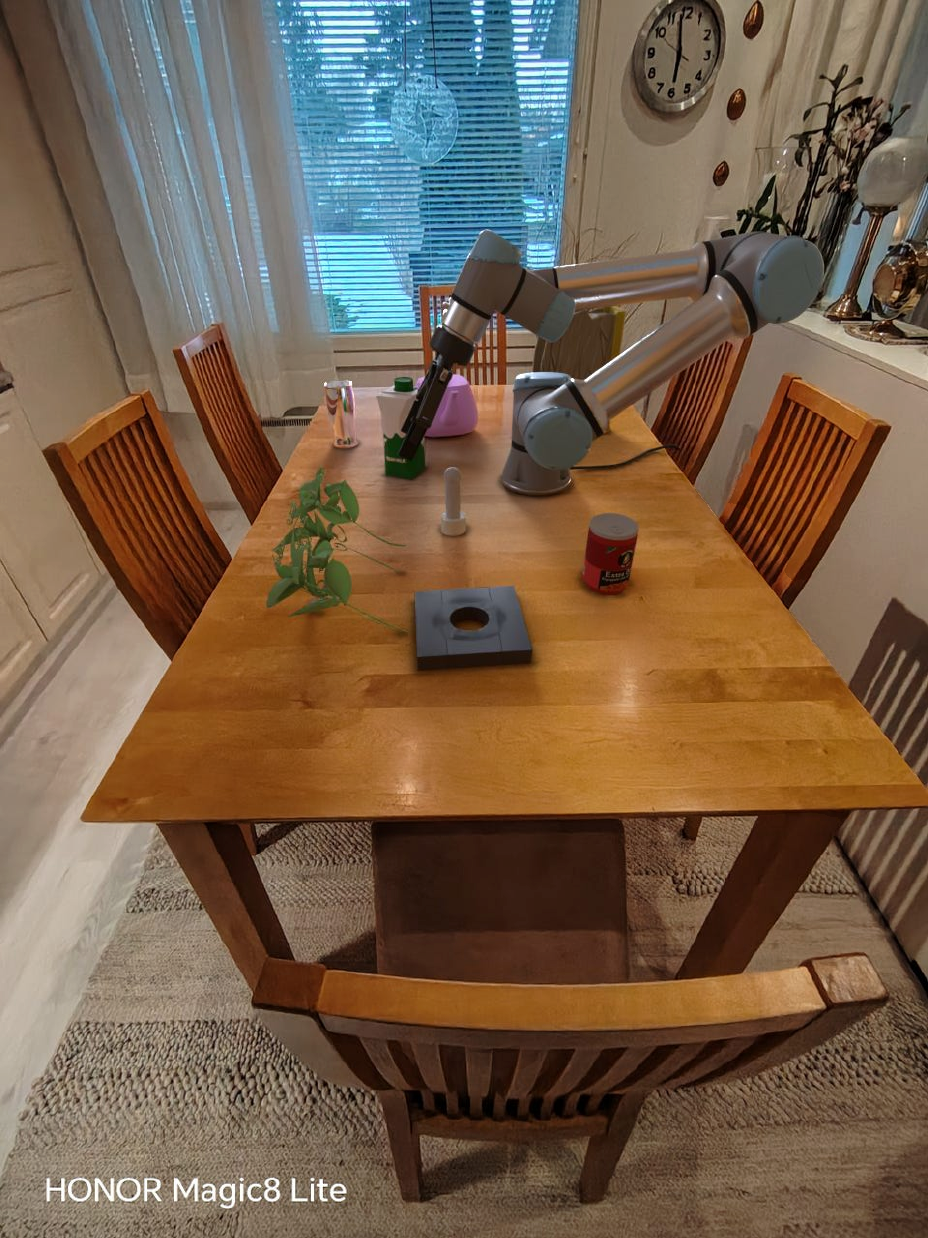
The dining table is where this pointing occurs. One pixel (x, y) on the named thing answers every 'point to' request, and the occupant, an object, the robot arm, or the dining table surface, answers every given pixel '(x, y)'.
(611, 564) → the canned food
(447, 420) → the teapot
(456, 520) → the white peg with base
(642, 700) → the dining table surface
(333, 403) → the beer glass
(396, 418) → the milk carton
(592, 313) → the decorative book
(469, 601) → the plate
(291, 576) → the plant cuttings
